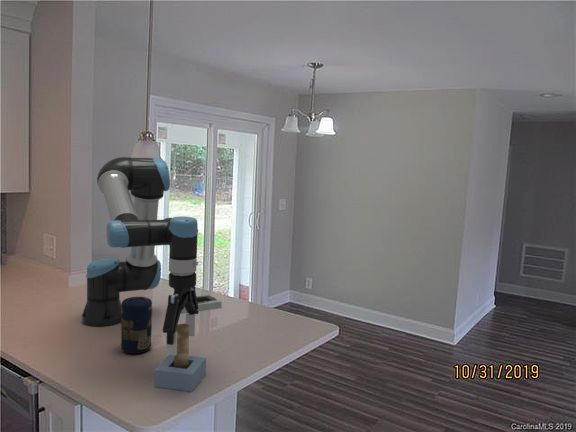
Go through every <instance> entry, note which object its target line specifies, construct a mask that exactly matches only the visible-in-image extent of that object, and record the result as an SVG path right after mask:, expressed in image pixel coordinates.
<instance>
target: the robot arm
mask: <svg viewBox="0 0 576 432" xmlns="http://www.w3.org/2000/svg"><path fill="white" fill-rule="evenodd" d="M170 177H171V176H170V170H169V167H168V164H167V162H166V161H165V160H164V159H163V158H162V159H161V158H154V157H127V156H119V157H116V158H112V159H110V160H108V161H107V162H106V163H105V164H104V165H103V166H101V168H100V170H99V171H98V174H97V177H96V183H97V187H98V189H99V191H100V192H101V193H102V194H103V196H104V197H103V198H104V200H105V204H106V208H107V211H108V214H109V217H110V221H108V222H107V224H106V240H107V241H106V242H107V246H109V247H110V248H121V249H124V248H130V253H128V254H127V255H126V259H125V261H121V260H120V259H119V258H118V257H105V258H99V259H96V260H93V261H92V262H90V263H89V264H88V265H87V267H86V274H85V276H86V302H85V306H84V309H83V312H82V314H81V323H82V324H83V325H86V326H90V327H108V326H112V325H116V324H119V323H121V308H122V302H121V299H120V298H121V297H120V293H123V292H124V293H125V292H134V291H135V292H136V291H147V290H152V289H155V288H157V286H158V285H159V283H160V281H161V276H162V264H161V263H162V262H161V261H160V260H159V259H158V257H157V255H155V248H156V247H157V246H169V251H168V252H169V253H168V254H169V257H168V258H169V259H168V272H170V273H168V286H169V287H170V288H172V289H173V294H169V295H168V300H167V305H166V306H167V307H166V312H165V317H164V321H163V326H162V333H163V334H164V333H165V334H166V339H165V340H166V342H165V343H166V344H165V345H166V347H165V349H166V351H165V354H166V355H168V356H169V355H174V356H176V355H177V332H176V328H177V325H178V323H179V321H180V317H181V314H182V312H181V310H183V309H184V306H185V309H186V311H187V313H185V324H188V325H189V337H195V335H196V334H195V333H196V315H198V314H199V312H200V311H199V310H198V302H197V297H196V296H197V293H196V285H197V273H196V271H197V266H198V265H199V262H198V261H197V260H198V259H197V257H198V255H197V254H198V233H199V228H198V227H199V226H198V225H199V224H198V220H197V218H195V217H193V216H185V215H183V216H181V215H180V216H174V217H165V218H163V219H158V214H159V213H158V211H159V201H160V200H161V199H163V197H164V196H165V195H164V193H165V192H167V191H169V190H170V187H171V178H170ZM129 191H130V192H129ZM131 196H132V197H133V198H134V201H133V199H132V197H131ZM194 305H195V306H194Z"/></svg>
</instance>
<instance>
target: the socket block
mask: <svg viewBox="0 0 576 432" xmlns="http://www.w3.org/2000/svg"><path fill="white" fill-rule="evenodd" d="M206 365H207V357H203V356H194V355H189V359H188V368H187V369H184V368H175V367H174V355H168V356H166V358H165V359H163V361H162V362H161V363H160V364H159V365H157V367H156V368H155V369H154V378H153V379H154V384H153V385H154V388H161V389H169V390H176V391H184V392H191V393H192V392H193V391H194V390H195V389H196V387H197V386H198V384H199V383H200V382H201V381H202V379H203V378H204V376H205V375H206V373H207V372H206V371H207V369H206V367H207V366H206Z"/></svg>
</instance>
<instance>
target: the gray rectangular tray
mask: <svg viewBox="0 0 576 432" xmlns="http://www.w3.org/2000/svg"><path fill="white" fill-rule="evenodd" d="M196 297H197V302H198V310H199V312H202V311H211V310H216V309H222V303H223V301H222V300H218V299H217V298H215V297H213V296H211V295H210V294H203V295H202V294H201V295H196ZM194 306H195V305H194ZM181 314H188V313H187V311H186V309H185V306H184V309H183V310H181Z"/></svg>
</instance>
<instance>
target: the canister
mask: <svg viewBox="0 0 576 432" xmlns="http://www.w3.org/2000/svg"><path fill="white" fill-rule="evenodd" d="M152 304H153V302H152V299H150V298H148V297H146V296H131V297H127V298H125V299H123V300H122V302H121V305H122V308H121V322H120V326H121V329H120V330H121V333H120V347H121V351H123V352H125V353H127V354H136V355H137V354H141V353H144V352H147V351H148V350H150V348H151V347H152V330H153V329H152V322H153V321H152V320H153V319H152V314H153V312H152V310H153V305H152Z"/></svg>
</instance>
